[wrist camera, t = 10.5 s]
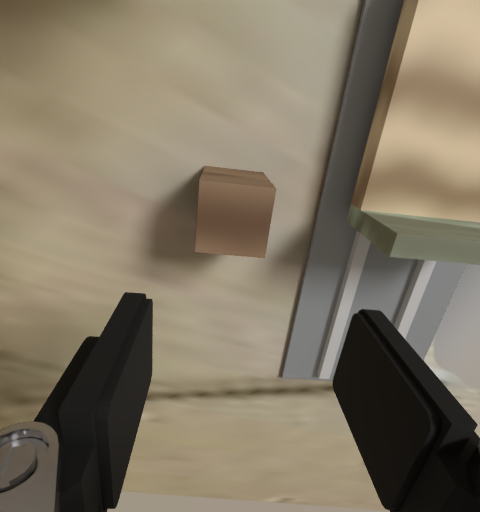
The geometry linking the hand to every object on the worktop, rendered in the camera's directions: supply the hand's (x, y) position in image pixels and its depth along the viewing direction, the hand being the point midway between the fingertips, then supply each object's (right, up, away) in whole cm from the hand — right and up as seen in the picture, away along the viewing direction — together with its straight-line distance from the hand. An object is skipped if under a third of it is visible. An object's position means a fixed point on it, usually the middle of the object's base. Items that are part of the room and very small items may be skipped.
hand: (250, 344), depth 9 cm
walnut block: (-1, +8, +18) cm, 20 cm away
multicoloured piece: (+16, +14, +16) cm, 26 cm away
